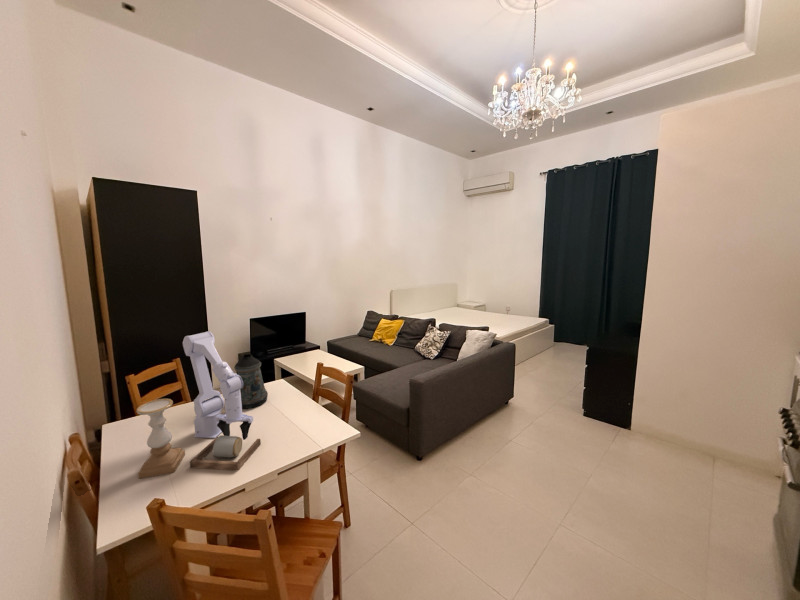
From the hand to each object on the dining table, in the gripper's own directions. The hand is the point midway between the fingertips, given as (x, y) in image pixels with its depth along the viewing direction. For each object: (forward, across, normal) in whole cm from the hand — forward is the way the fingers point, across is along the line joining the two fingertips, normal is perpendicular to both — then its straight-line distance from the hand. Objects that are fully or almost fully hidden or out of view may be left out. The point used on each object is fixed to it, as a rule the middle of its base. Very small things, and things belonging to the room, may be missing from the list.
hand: (236, 437), depth 125 cm
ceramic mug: (+4, 0, -5) cm, 6 cm away
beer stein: (+4, -16, +35) cm, 39 cm away
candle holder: (+4, -20, -14) cm, 24 cm away
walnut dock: (+3, 0, -6) cm, 7 cm away
